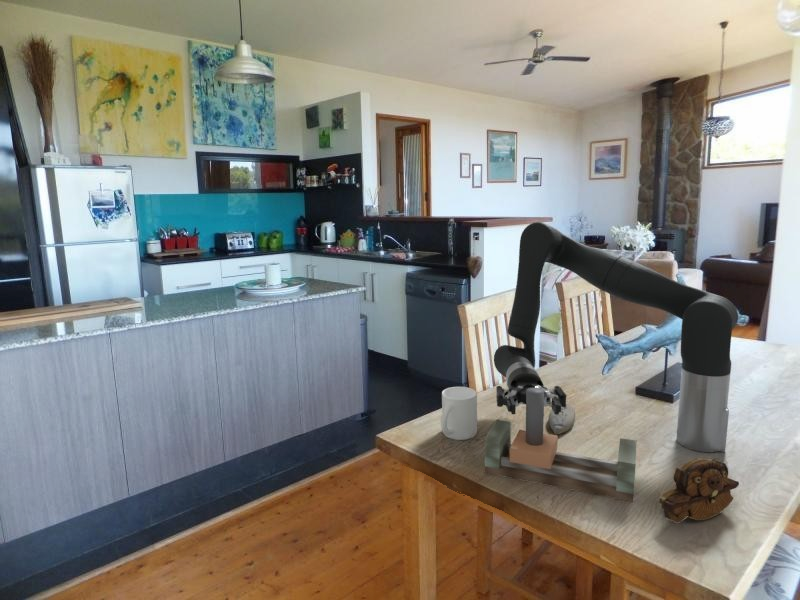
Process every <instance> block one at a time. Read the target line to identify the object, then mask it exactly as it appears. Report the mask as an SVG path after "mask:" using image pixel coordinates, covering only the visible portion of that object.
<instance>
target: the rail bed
mask: <svg viewBox="0 0 800 600" xmlns="http://www.w3.org/2000/svg"><path fill="white" fill-rule="evenodd" d="M511 422H512V421H508V420H502V419H501V420H500V419H497V420H495V423H494V424H493V426H492V427H491V429H490V430H489V432H488V433H487V435H486V437H485V438H484V473H485V474H489V475H493V476H499V477H504V478H508V479H515V480H519V481H526V482H530V483H536V484H541V485H545V486H549V487H556V488H561V489H566V490H572V491H576V492H577V491H578V492H582V493H585V494H586V493H587V494H592V495H595V496H596V495H598V496H602V497H607V498H613V499H617V500H623V501H628V502H634V501H635V500H634V496H635V495H634V494H635V483H636V482H635V480H636V467H637V466H636V464H637V463H636V459H637V440H636V439H635V440H634V439H629V438H621V437H620V438H619V445H618V446H619V447H618V457H617V461H613V460H606V459H601V458H595V457H590V456H589V457H588V456H582V455H577V454H572V453H571V454H570V453H565V452H559V451H556V454H555V457H554V460H553V463H552V466H551V469H547V468H541V467H536V466H530V465H525V464H519V463H513V462H510V447H511V445H512V442H511V441H512V440H511V439H512V438H511V437H512V436H511V433H512V432H511V431H512V430H511V428H512V425H511V424H512V423H511Z"/></svg>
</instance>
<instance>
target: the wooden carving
mask: <svg viewBox="0 0 800 600" xmlns="http://www.w3.org/2000/svg"><path fill="white" fill-rule="evenodd" d="M674 469H675V470H674V473H673V477H672V480H673V482H674V483H675V488H672V489H668V490H667V491H664V492H663V494H662V495H660V496H659V498H658V504H659V505H660V506H661V509H662V511H663V514H664V518H665V519H667V520H669V521H673V522H674V523H676V524H679V523H681V522H683V521H684V520H685V519H687V518H690V519H693V520H695V521H703V520H704V521H705V520H708V519H711V518H713V517H715V516H717V515H718V514H719V515H720V514H721V513H722V512H723V511H724V510H726V508H727V507H729V505H730V504H731V503H732V501H734V497H733V496H732V494H731V490H735V489H736V488H738V487H739V484H740V482H739V481H737V480H735V479H732V478H729V477H728V476H729V468H728V466H727V464H726V463H725V462H724V461H720V460H718V459H717V458H713V459H711V460H710V459H708V458H701V457H698V458H697V457H696V458H693V459H690V460H688V461H686V462H685V463H684V464H683V465H681V466H680V467H675V468H674Z"/></svg>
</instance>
